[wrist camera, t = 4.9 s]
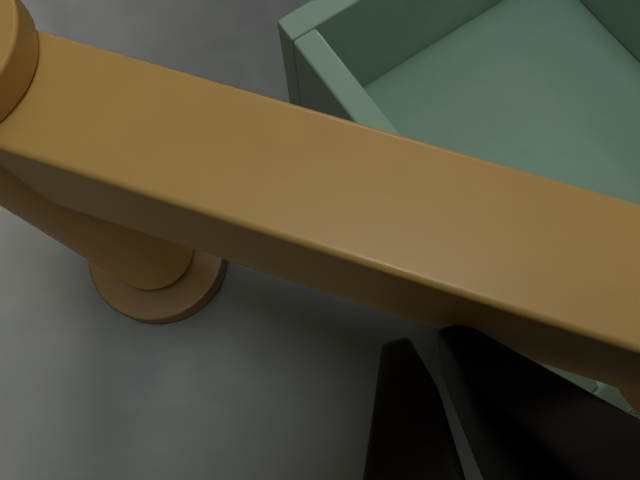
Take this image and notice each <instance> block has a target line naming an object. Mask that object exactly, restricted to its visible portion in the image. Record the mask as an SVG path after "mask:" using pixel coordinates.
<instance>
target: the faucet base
mask: <svg viewBox="0 0 640 480" xmlns="http://www.w3.org/2000/svg"><path fill="white" fill-rule="evenodd" d="M89 262H90V272H91V277H92V280H93V283H94V285H95V287H96V289H97V291H98V293H99V294H100V296H101V297H102V298H103V299H104V301H105V302H106V303H107V304H108V305H110V306H111V307H112V308H113V309H115V310H116V311H118V312H120V313H121V314H123V315H126V316H128V317H130V318H132V319H135V320H137V321H141V322H144V323H152V324H164V323H171V322H175V321H178V320H181V319H184V318H186V317H188V316H190V315H192V314H194V313H195V312H197V311H198V310H200V309H201V308H202V307H203V306H204V305H206V304H207V303H208V302H209V301H210V299H211V298H212V297H213V296H214V295H215V293H216V292H217V290H218V288H219V287H220V285H221V283H222V280H223V278H224V275H225V272H226V267H227V260H225V259H222V258H219V257H216V256H213V255H210V254H207V253H204V252H201V251H198V250H195V249H193V254H192V258H191V261H190V263H189V265H188V267H187V269H186V270H185V272H184V273H183V274H182V275H181V276H180V277H179V278H178V279H177V280H175V281H174V282H173V283H171V284H169V285H167V286H165V287H162V288H159V289H153V290H143V289H138V288H135V287H132V286H130V285H128V284H127V283H125V282H123V281H122V280H120V279H119V278H117V277H115V276H114V275H112V274H110V273H109V272H107V271H106V270H104V269H102V268H101V267H99V266H98V265H96V264H94V263H93V262H91V261H89Z"/></svg>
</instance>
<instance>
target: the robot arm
mask: <svg viewBox="0 0 640 480" xmlns="http://www.w3.org/2000/svg"><path fill="white" fill-rule="evenodd" d="M437 339H438V346H439V354H440V361H441V368H442V374H443V378H444V381H445V384H446V387H447V390H448V392H449V395H450V397H451V400H452V402H453V405H454V407H455V410H456V413H457V415H458V418H459V420H460V423H461V425H462V428H463V430H464V433H465V435H466V438H467V440H468V443H469V445H470V448H471V450H472V453H473V455H474V458H475V460H476V463H477V465H478V467H479V470H480V472H481V474H482V477H483V479H484V480H640V419H638V418H636V417H634V416H632V415H631V414H629V413H627V412H625V411H623V410H621V409H620V408H618V407H616V406H614V405H612V404H611V403H609V402H607V401H605V400H603V399H601V398H600V397H598V396H596V395H594V394H592V393H591V392H589V391H587V390H585V389H583V388H582V387H580V386H578V385H576V384H574V383H572V382H571V381H569V380H567V379H565V378H563V377H562V376H560V375H558V374H556V373H554V372H553V371H551V370H549V369H547V368H545V367H543V366H542V365H540V364H538V363H536V362H534V361H533V360H531V359H529V358H527V357H525V356H523V355H522V354H520V353H518V352H516V351H514V350H513V349H511V348H509V347H507V346H505V345H504V344H502V343H500V342H498V341H496V340H494V339H493V338H491V337H489V336H487V335H485V334H484V333H482V332H480V331H478V330H476V329H475V328H472V327H467V326H462V325H452V326H448V327H444V328H441V329H439V331H438V333H437ZM363 480H466V479H465V476H464V473H463V469H462V466H461V463H460V459H459V456H458V453H457V449H456V446H455V443H454V439H453V436H452V433H451V429H450V426H449V423H448V420H447V416H446V413H445V410H444V406H443V403H442V400H441V397H440V394H439V391H438V389H437V386H436V385H435V383H434V381H433V379H432V377H431V375H430V373H429V372H428V370H427V368H426V366H425V365H424V363H423V361H422V359H421V358H420V356H419V354H418V352H417V350H416V349H415V347H414V345H413V343H412V342H411V340H410V339H408V338H402V339H398V340H394V341H390V342H386V343H384V344H383V346H382V351H381V358H380V365H379V372H378V379H377V386H376V393H375V400H374V406H373V413H372V420H371V427H370V434H369V441H368V448H367V455H366V462H365V469H364V476H363Z"/></svg>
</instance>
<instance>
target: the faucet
mask: <svg viewBox="0 0 640 480" xmlns="http://www.w3.org/2000/svg"><path fill="white" fill-rule="evenodd" d="M0 205H1V206H2V207H4V208H5V209H7V210H9V211H10V212H12V213H13V214H15V215H17V216H18V217H20V218H22V219H23V220H25V221H26V222H28V223H30V224H31V225H33V226H34V227H36V228H38V229H39V230H41V231H43V232H44V233H46V234H47V235H49V236H51V237H52V238H54V239H55V240H57V241H59V242H60V243H62V244H64V245H65V246H67V247H68V248H70V249H72V250H73V251H75V252H77V253H78V254H80V255H81V256H83V257H85V258H86V259H88V260H89V261H91V262H93V263H94V264H96V265H98V266H99V267H101V268H102V269H104V270H106V271H107V272H109V273H110V274H112V275H114V276H115V277H117V278H119V279H120V280H122V281H123V282H125V283H127V284H128V285H130V286H132V287H135V288H138V289H143V290H153V289H159V288H162V287H165V286H167V285H169V284H171V283H173V282H174V281H175V280H177V279H178V278H179V277H180V276H181V275H182V274H183V273H184V272H185V270H186V269H187V267H188V265H189V263H190V261H191V258H192V254H193V249H195V250H198V251H201V252H204V253H207V254H210V255H213V256H216V257H219V258H222V259H225V260H229V261H232V262H235V263H238V264H241V265H244V266H247V267H250V268H253V269H256V270H259V271H262V272H265V273H268V274H271V275H274V276H277V277H280V278H283V279H287V280H290V281H293V282H296V283H299V284H302V285H305V286H308V287H311V288H314V289H317V290H320V291H323V292H326V293H329V294H332V295H335V296H338V297H342V298H345V299H348V300H351V301H354V302H357V303H360V304H363V305H366V306H369V307H372V308H375V309H378V310H381V311H384V312H387V313H390V314H393V315H396V316H400V317H403V318H406V319H409V320H412V321H415V322H418V323H421V324H424V325H427V326H430V327H433V328H436V329H441V328H444V327H448V326H452V325H462V326H467V327H472V328H475V329H476V330H478V331H480V332H482V333H484V334H485V335H487V336H489V337H491V338H493V339H494V340H496V341H498V342H500V343H502V344H504V345H505V346H507V347H509V348H511V349H513V350H514V351H516V352H518V353H520V354H522V355H523V356H525V357H527V358H529V359H531V360H534V361H537V362H540V363H543V364H546V365H549V366H552V367H555V368H558V369H561V370H564V371H567V372H571V373H574V374H577V375H580V376H583V377H586V378H589V379H592V380H595V381H598V382H601V383H604V384H607V385H610V386H613V387H616V388H618V389H619V391H620V392H621V394H622V396H623V397H624V399H625V400H626V401H627V403H628V404H629V405H630V406H631V407H632V408H633V409H634V410H635V411H637V412H638V413H639V414H640V205H639V204H636V203H632V202H629V201H625V200H622V199H618V198H615V197H611V196H608V195H605V194H601V193H598V192H594V191H591V190H587V189H584V188H580V187H577V186H573V185H570V184H567V183H563V182H560V181H556V180H553V179H549V178H546V177H542V176H539V175H536V174H532V173H529V172H525V171H522V170H518V169H515V168H511V167H508V166H504V165H501V164H498V163H494V162H491V161H487V160H484V159H480V158H477V157H473V156H470V155H466V154H463V153H460V152H456V151H453V150H449V149H446V148H442V147H439V146H435V145H432V144H428V143H425V142H422V141H418V140H415V139H411V138H408V137H404V136H401V135H397V134H394V133H390V132H387V131H384V130H380V129H377V128H373V127H370V126H366V125H363V124H359V123H356V122H352V121H349V120H346V119H342V118H339V117H335V116H332V115H328V114H325V113H321V112H318V111H314V110H311V109H308V108H304V107H301V106H297V105H294V104H290V103H287V102H283V101H280V100H276V99H273V98H270V97H266V96H263V95H259V94H256V93H252V92H249V91H245V90H242V89H239V88H235V87H232V86H228V85H225V84H221V83H218V82H214V81H211V80H207V79H204V78H201V77H197V76H194V75H190V74H187V73H183V72H180V71H176V70H173V69H169V68H166V67H163V66H159V65H156V64H152V63H149V62H145V61H142V60H138V59H135V58H131V57H128V56H125V55H121V54H118V53H114V52H111V51H107V50H104V49H100V48H97V47H93V46H90V45H87V44H83V43H80V42H76V41H73V40H69V39H66V38H62V37H59V36H55V35H52V34H49V33H45V32H42V31H38V30H36V28H35V24H34V21H33V19H32V17H31V15H30V13H29V11H28V10H27V8H26V7H25V6H24V4H23V3H22V2H21V0H0Z"/></svg>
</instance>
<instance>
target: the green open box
mask: <svg viewBox="0 0 640 480" xmlns="http://www.w3.org/2000/svg"><path fill="white" fill-rule="evenodd" d="M278 28H279V34H280V41H281V47H282V54H283V60H284V67H285V73H286V80H287V86H288V92H289V99H290V104H294V105H297V106H301V107H304V108H308V109H311V110H314V111H318V112H321V113H325V114H328V115H332V116H335V117H339V118H342V119H346V120H349V121H352V122H356V123H359V124H363V125H366V126H370V127H373V128H377V129H380V130H384V131H387V132H390V133H394V134H397V135H401V136H404V137H408V138H411V139H415V140H418V141H422V142H425V143H428V144H432V145H435V146H439V147H442V148H446V149H449V150H453V151H456V152H460V153H463V154H466V155H470V156H473V157H477V158H480V159H484V160H487V161H491V162H494V163H498V164H501V165H504V166H508V167H511V168H515V169H518V170H522V171H525V172H529V173H532V174H536V175H539V176H542V177H546V178H549V179H553V180H556V181H560V182H563V183H567V184H570V185H573V186H577V187H580V188H584V189H587V190H591V191H594V192H598V193H601V194H605V195H608V196H611V197H615V198H618V199H622V200H625V201H629V202H632V203H636V204H639V205H640V0H312V1H310V2H309V3H307V4H305V5H304V6H302V7H300V8H298V9H297V10H295V11H293V12H292V13H290V14H288V15H287V16H285V17H283V18H281V19H280V20H278ZM533 361H534V360H533ZM534 362H536V363H538V364H540V365H542V366H543V367H545V368H547V369H549V370H551V371H553V372H554V373H556V374H558V375H560V376H562V377H563V378H565V379H567V380H569V381H571V382H572V383H574V384H576V385H578V386H580V387H582V388H583V389H585V390H587V391H589V392H591V393H592V394H594V395H596V396H598V397H600V398H601V399H603V400H605V401H607V402H609V403H611V404H612V405H614V406H616V407H618V408H620V409H621V410H623V411H625V412H627V413H628V412H630V411H631V410H632V409H633V408H632V407H631V406H630V405H629V404H628V403H627V401H626V400H625V399H624V397H623V396H622V394H621V392H620V391H619V389H618V388H616V387H613V386H610V385H607V384H604V383H601V382H598V381H595V380H592V379H589V378H586V377H583V376H580V375H577V374H574V373H571V372H567V371H564V370H561V369H558V368H555V367H552V366H549V365H546V364H543V363H540V362H537V361H534Z"/></svg>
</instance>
